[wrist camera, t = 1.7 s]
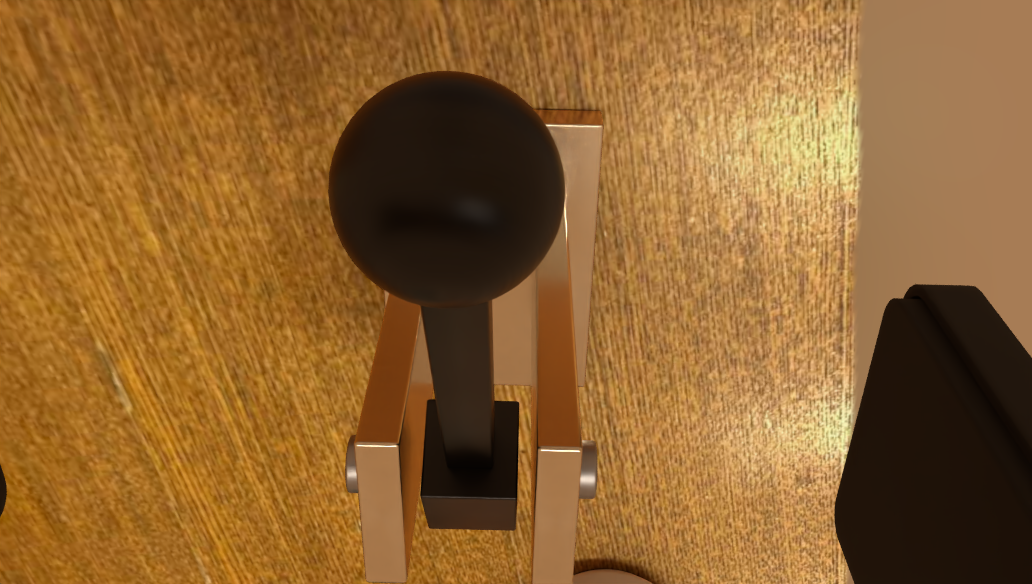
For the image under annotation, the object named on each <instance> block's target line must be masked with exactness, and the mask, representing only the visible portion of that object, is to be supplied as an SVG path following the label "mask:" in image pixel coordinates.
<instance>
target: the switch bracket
mask: <svg viewBox="0 0 1032 584" xmlns="http://www.w3.org/2000/svg"><path fill="white" fill-rule="evenodd" d="M534 111H535V112H536V113H537V114H538V115H539V116H540V118H541V119H542V121H543V122H544V123H545V125H546V127H547V128H548V130H549V131H550V133H551V135H552V137H553V139H554V141H555V144H556V146H557V148H558V151H559V154H560V158H561V162H562V166H563V170H564V178H565V204H564V210H563V215H562V219H561V223H560V228H559V230H558V233H557V235H556V237H555V240H554V242H553V244H552V246H551V248H550V250H549V251H548V253H547V255H546V256H545V258H544V259H543V260H542V262H541V263H540V264H539V265H538V267H537V268H536V269H535V270H534V271H533V273H532V274H530V275H529V276H528V277H527V278H526V279H525V280H524V281H523V282H521V283H520V284H519V285H518V286H516V287H515V288H513V289H512V290H510V291H509V292H507V293H505V294H503V295H502V296H500V297H498V298H496V299H493V300H492V312H493V357H494V385H526V386H531V582H532V584H572V583H573V573H574V560H575V546H576V533H577V519H578V506H579V498H582V499H593V498H595V495H596V489H597V447H596V443H595V441H586V440H582V433H581V418H580V403H579V388H578V387H584V386H585V377H586V363H587V350H588V336H589V322H590V308H591V294H592V281H593V267H594V253H595V239H596V225H597V212H598V198H599V184H600V170H601V157H602V143H603V129H604V125H603V119H602V113H601V112H600V111H574V110H534ZM384 302H385V313H384V317H383V322H382V326H381V330H380V334H379V339H378V343H377V347H376V352H375V356H374V360H373V364H372V369H371V373H370V377H369V382H368V386H367V390H366V394H365V399H364V403H363V407H362V412H361V416H360V420H359V424H358V429H357V433H356V435H352V436H351V437H350V439H349V442H348V447H347V453H346V466H345V477H346V487H347V490H348V492H350V493H358V497H359V508H360V520H361V531H362V542H363V554H364V565H365V577H366V581H367V582H379V583H405V582H406V581H407V577H408V569H409V562H410V555H411V548H412V540H413V533H414V526H415V519H416V512H417V504H418V497H419V490H420V483H421V475H422V465H423V450H424V436H425V421H426V407H427V400H429V399H432V396H433V389H434V388H433V382H432V376H431V370H430V364H429V358H428V352H427V345H426V339H425V333H424V327H423V321H422V315H421V309H420V305H417V304H413V303H410V302H407V301H405V300H402V299H400V298H398V297H396V296H394V295H392V294H390V293H388V292H386V291H385V290H384Z"/></svg>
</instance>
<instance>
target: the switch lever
mask: <svg viewBox="0 0 1032 584" xmlns="http://www.w3.org/2000/svg"><path fill="white" fill-rule="evenodd" d="M328 194H329V204H330V211H331V216H332V219H333V223H334V227H335V229H336V232H337V234H338V236H339V239H340V241H341V243H342V245H343V247H344V249H345V250H346V252H347V253H348V255H349V256H350V258H351V259H352V261H353V262H354V264H355V265H356V266H357V267H358V268H359V269H360V270H361V271H362V272H363V273H364V274H365V275H366V276H367V278H369V279H370V280H371V281H372V282H374V283H375V284H376V285H378V286H379V287H380V288H382V289H383V290H385V291H386V292H388V293H390V294H392V295H394V296H396V297H398V298H400V299H402V300H405V301H407V302H410V303H413V304H417V305H420V309H421V315H422V321H423V327H424V333H425V339H426V345H427V352H428V358H429V364H430V370H431V376H432V382H433V388H434V394H435V399H429V400H427V407H426V421H425V436H424V450H423V465H422V479H421V494H420V496H421V500H422V504H423V507H424V511H425V515H426V519H427V523H428V526H429V528H432V529H473V530H515V529H516V514H517V483H518V437H519V402H517V401H494V357H493V312H492V300H493V299H496V298H498V297H500V296H502V295H503V294H505V293H507V292H509V291H510V290H512V289H513V288H515V287H516V286H518V285H519V284H520V283H521V282H523V281H524V280H525V279H526V278H527V277H528V276H529V275H530V274H532V273H533V271H534V270H535V269H536V268H537V267H538V265H539V264H540V263H541V262H542V260H543V259H544V258H545V256H546V255H547V253H548V251H549V250H550V248H551V246H552V244H553V242H554V240H555V237H556V235H557V233H558V230H559V228H560V223H561V219H562V215H563V210H564V204H565V178H564V170H563V166H562V162H561V158H560V154H559V151H558V148H557V146H556V144H555V141H554V139H553V137H552V135H551V133H550V131H549V130H548V128H547V127H546V125H545V123H544V122H543V121H542V119H541V118H540V116H539V115H538V114H537V113H536V112H535V111H534V110H533V109H532V108H531V107H530V106H529V105H528V104H527V103H526V102H525V100H523V99H522V98H521V97H519V96H518V95H517V94H516V93H514V92H513V91H511V90H509V89H508V88H506V87H505V86H503V85H501V84H499V83H497V82H495V81H493V80H490V79H488V78H485V77H482V76H478V75H474V74H470V73H464V72H456V71H436V72H427V73H422V74H417V75H413V76H410V77H407V78H405V79H402V80H400V81H398V82H396V83H393V84H391V85H389V86H387V87H386V88H384V89H383V90H381V91H380V92H378V93H377V94H376V95H374V96H373V97H372V98H371V99H369V100H368V101H367V102H366V103H365V104H364V105H363V106H362V107H361V108H360V109H359V110H358V112H357V113H356V114H355V115H354V116H353V117H352V118H351V120H350V121H349V123H348V125H347V126H346V128H345V130H344V131H343V133H342V135H341V137H340V139H339V141H338V144H337V146H336V149H335V152H334V155H333V158H332V162H331V167H330V173H329V190H328Z"/></svg>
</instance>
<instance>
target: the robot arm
mask: <svg viewBox="0 0 1032 584" xmlns="http://www.w3.org/2000/svg"><path fill="white" fill-rule="evenodd" d="M6 495H7V490H6V481H5V477H4V474H3V471H2V468H1V465H0V516H1V514H2V512H3V509H4V506H5V502H6ZM834 515H835V527H836V533H837V537H838V540H839V543H840V545H841V548H842V551H843V554H844V556H845V559H846V562H847V564H848V567H849V570H850V573H851V575H852V578H853V581H854V584H1032V358H1031V356H1030V355H1029V354H1028V352H1027V351H1026V350H1025V348H1024V347H1023V346H1022V344H1021V343H1020V342H1019V341H1018V339H1017V338H1016V337H1015V335H1014V334H1013V333H1012V331H1011V330H1010V329H1009V327H1008V326H1007V325H1006V324H1005V322H1004V321H1003V320H1002V318H1001V317H1000V316H999V314H998V313H997V312H996V310H995V309H994V308H993V306H992V305H991V304H990V303H989V301H988V300H987V299H986V297H985V296H984V295H983V293H982V292H981V291H980V290H979V289H978V288H976V287H974V286H961V285H958V286H957V285H918V284H916V285H913V286H912V287H910V288H909V289H908V291H907V292H906V294H905V296H904V298H903V299H898V298H896V299H895V298H894V299H892V300H890V301H889V303H888V304H887V306H886V308H885V311H884V314H883V318H882V322H881V326H880V330H879V334H878V338H877V342H876V345H875V349H874V353H873V357H872V361H871V365H870V369H869V373H868V377H867V380H866V385H865V388H864V393H863V396H862V400H861V404H860V408H859V412H858V416H857V419H856V423H855V427H854V431H853V435H852V439H851V443H850V447H849V451H848V454H847V458H846V462H845V466H844V470H843V474H842V478H841V482H840V486H839V490H838V493H837V497H836V502H835V514H834Z"/></svg>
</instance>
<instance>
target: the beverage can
mask: <svg viewBox="0 0 1032 584" xmlns="http://www.w3.org/2000/svg"><path fill="white" fill-rule="evenodd" d="M572 584H653V583H651V582H649V581H647V580H645V579H643V578H641V577H638V576H636V575H634V574H631V573H628V572H625V571H620V570H612V569H599V570H591V571H586V572H582V573H579V574H576V575H573V583H572Z"/></svg>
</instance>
